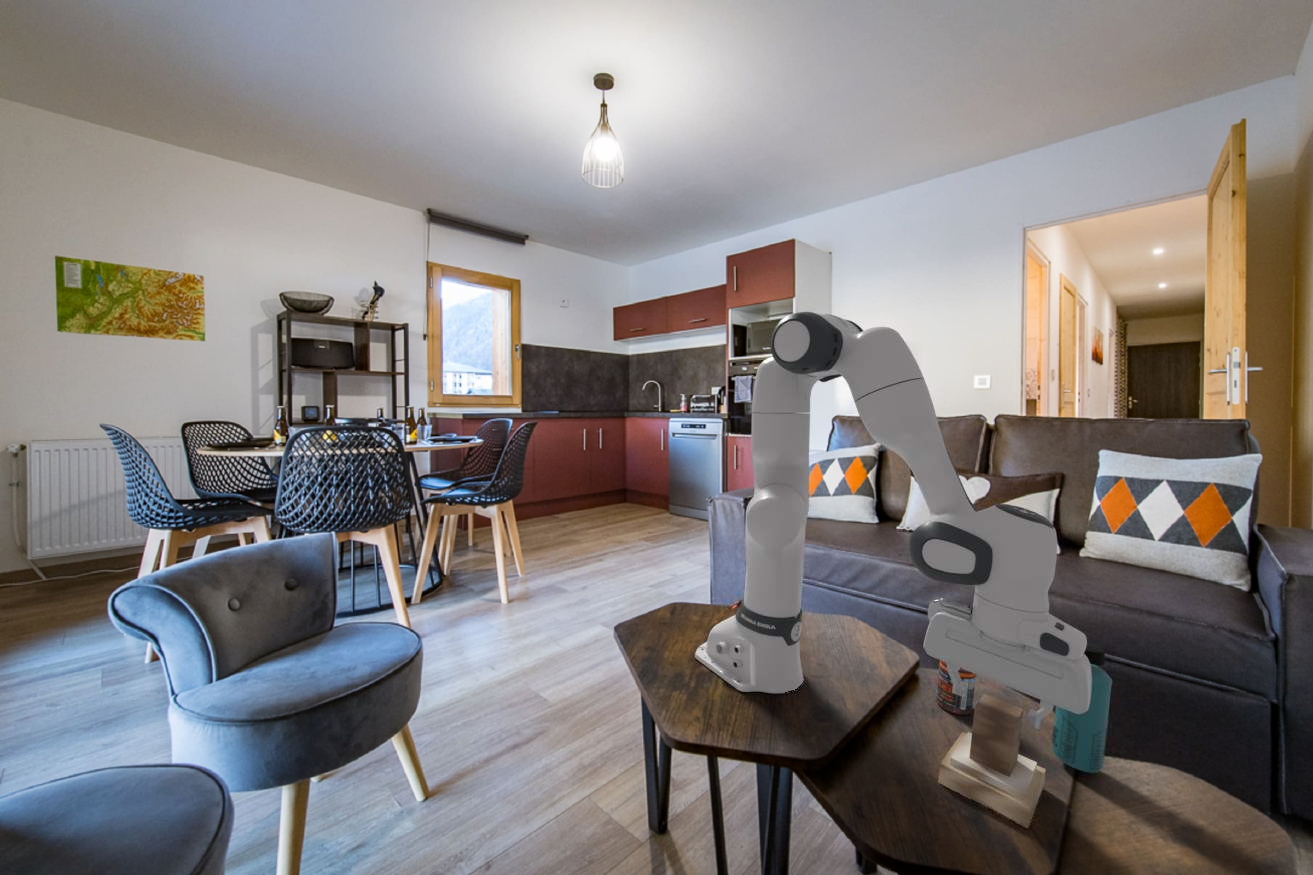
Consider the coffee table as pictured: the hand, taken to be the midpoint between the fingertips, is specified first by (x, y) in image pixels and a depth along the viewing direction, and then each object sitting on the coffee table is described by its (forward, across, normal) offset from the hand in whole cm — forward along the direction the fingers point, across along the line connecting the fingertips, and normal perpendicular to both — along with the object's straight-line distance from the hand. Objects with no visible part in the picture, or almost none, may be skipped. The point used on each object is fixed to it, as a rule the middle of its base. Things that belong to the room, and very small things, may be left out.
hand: (994, 708), depth 75 cm
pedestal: (+12, +1, 0) cm, 12 cm away
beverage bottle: (+12, +9, +15) cm, 21 cm away
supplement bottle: (+12, -9, +18) cm, 24 cm away
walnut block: (+8, +1, 0) cm, 8 cm away
